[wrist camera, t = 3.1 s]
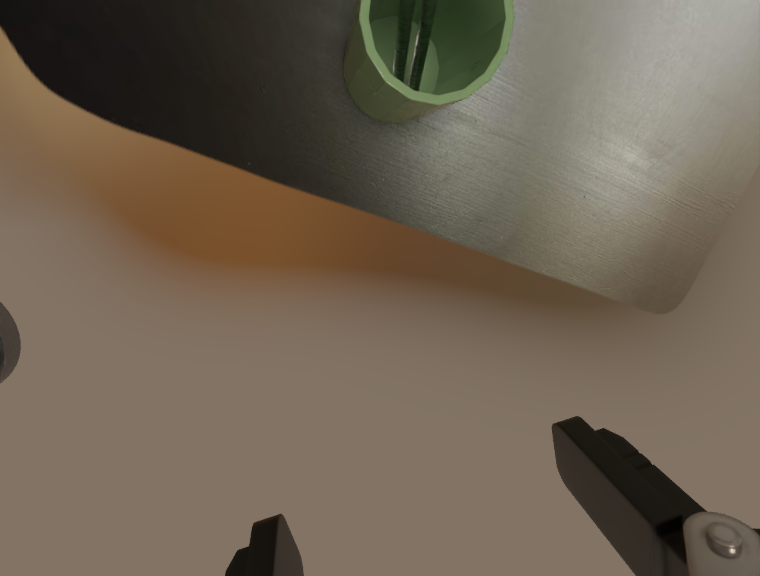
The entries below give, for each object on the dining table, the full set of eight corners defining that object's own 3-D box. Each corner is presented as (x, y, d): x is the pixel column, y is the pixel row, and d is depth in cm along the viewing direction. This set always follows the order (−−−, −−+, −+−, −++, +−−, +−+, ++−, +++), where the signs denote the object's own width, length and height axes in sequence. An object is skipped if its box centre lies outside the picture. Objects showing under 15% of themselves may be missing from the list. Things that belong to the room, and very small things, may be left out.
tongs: (389, 112, 34) (465, 49, 17) (363, -6, 32) (421, -227, 14) (416, 106, 34) (518, 36, 17) (392, -13, 32) (484, -239, 14)
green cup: (357, 134, 35) (381, 119, 23) (331, 24, 32) (341, -60, 20) (449, 110, 35) (522, 84, 23) (431, 1, 33) (502, -94, 20)
